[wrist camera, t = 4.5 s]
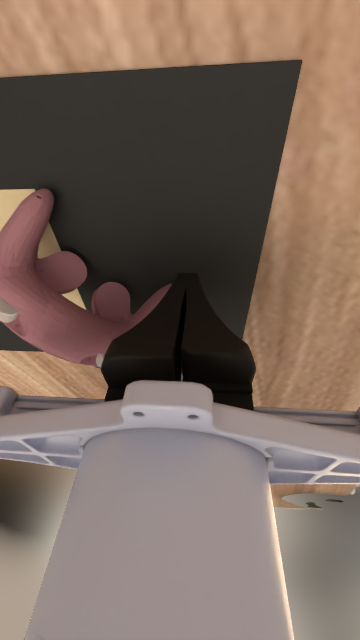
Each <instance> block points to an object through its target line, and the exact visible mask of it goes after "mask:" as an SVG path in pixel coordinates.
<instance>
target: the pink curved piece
mask: <svg viewBox="0 0 360 640" xmlns="http://www.w3.org/2000/svg"><path fill="white" fill-rule="evenodd" d="M53 205H54V196H53V194H52V192H51V191H50V190H48V189H43V188H42V189H40V190H37V191H35V192H33V193H31V194H30V195H29V196H28V197H26V198H25V199H24V200H23V201H22V202H21V203H20V204H19V206H18V207H17V209H16V210H15V211H14V213H13V214H12V216H11V217H10V218H9V220H8V221H7V223H6V224H5V225H4V227H3V228H2V230H1V231H0V321H2V322H3V323H4V324H5V325H6V326H7V327H8V328H9V329H10V330H12V331H13V332H14V333H15V334H17V335H18V336H19V337H21V338H22V339H23V340H25V341H27V342H28V343H30V344H32V345H33V346H35V347H37V348H39V349H41V350H42V351H44V352H46V353H48V354H51V355H54V356H56V357H59V358H61V359H64V360H68V361H71V362H74V363H79V364H84V365H90V366H95V367H97V368H101V365H102V362H103V359H104V356H105V353H106V351H107V349H108V347H109V345H110V343H111V341H112V340H113V339H115V338H117V337H119V336H120V335H122V334H124V333H125V332H127V331H128V330H130V329H131V328H133V327H134V326H135V325H137V324H138V323H139V322H140V321H142V320H143V319H144V318H145V317H146V316H147V315H148V314H149V313H150V312H151V311H152V310H153V309H154V308H155V307H156V306H157V304H158V303H159V302H160V301H161V299H162V298H163V297H164V295H165V294H166V292H167V291H168V289H169V288H170V286H171V285H172V284H168V285H167V286H164V287H162V288H161V289H160V290H158V291H157V292H156V293H154V294H153V295H152V296H151V297H150V298H149V299H148V300H147V301H146V302H145V303H144V304H143V305H142V306H141V307H140V309H139V310H138V311H137V312H136V313H135V314H133V315H132V314H131V313H130V295H129V292H128V291H127V289H126V288H125V287H124V286H122V285H121V284H119V283H116V282H107V283H104V284H103V285H101V286H100V287H99V288H97V289H96V290H95V292H94V293H93V295H92V301H91V306H92V311H93V313H91V312H89V311H88V310H86V309H84V308H82V307H80V306H78V305H76V304H75V303H73V302H72V301H70V300H68V299H67V298H65V297H64V296H62V294H66V293H69V292H72V291H74V290H75V289H76V288H78V287H79V286H80V285H81V284H82V283H83V282H84V281H85V279H86V277H87V268H86V266H85V264H84V262H83V261H82V260H81V259H80V258H79V257H78V256H77V255H75V254H74V253H72V252H68V251H60V252H57V253H54V254H52V255H50V256H47V257H44V258H41V259H40V258H38V248H39V243H40V240H41V238H42V236H43V233H44V231H45V229H46V227H47V224H48V222H49V219H50V216H51V212H52V210H53Z"/></svg>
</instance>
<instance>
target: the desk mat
mask: <svg viewBox="0 0 360 640" xmlns="http://www.w3.org/2000/svg"><path fill="white" fill-rule="evenodd" d="M301 64H302V60H290V61H273V62H257V63H240V64H223V65H206V66H190V67H173V68H156V69H140V70H123V71H106V72H89V73H73V74H56V75H39V76H23V77H6V78H0V231H1V230H2V228H3V227H4V225H5V224H6V223H7V221H8V220H9V218H10V217H11V216H12V214H13V213H14V211H15V210H16V209H17V207H18V206H19V204H20V203H21V202H22V201H23V200H24V199H25V198H26V197H28V196H29V195H30V194H31V193H33V192H35V191H37V190H40V189H42V188H43V189H48V190H50V191H51V192H52V194H53V196H54V205H53V210H52V212H51V216H50V219H49V222H48V224H47V227H46V229H45V231H44V233H43V236H42V238H41V240H40V243H39V248H38V258H40V259H41V258H44V257H47V256H50V255H52V254H54V253H57V252H60V251H68V252H72V253H74V254H75V255H77V256H78V257H79V258H80V259H81V260H82V261H83V262H84V264H85V266H86V268H87V277H86V279H85V281H84V282H83V283H82V284H81V285H80V286H79V287H78V288H76V289H75V290H74V291H72V292H69V293H66V294H62V296H64V297H65V298H67V299H68V300H70V301H72V302H73V303H75V304H76V305H78V306H80V307H82V308H84V309H86V310H88V311H89V312H91V313H93V311H92V306H91V301H92V295H93V293H94V292H95V290H96V289H97V288H99V287H100V286H101V285H103V284H104V283H107V282H116V283H119V284H121V285H122V286H124V287H125V288H126V289H127V291H128V292H129V295H130V313H131V314H132V315H133V314H135V313H136V312H137V311H138V310H139V309H140V307H141V306H142V305H143V304H144V303H145V302H146V301H147V300H148V299H149V298H150V297H151V296H152V295H153V294H154V293H156V292H157V291H158V290H160V289H161V288H162V287H164V286H167V285H168V284H172V283H173V281H174V279H175V277H176V275H177V274H178V273H198V274H199V279H200V283H201V286H202V288H203V291H204V293H205V295H206V297H207V299H208V301H209V303H210V304H211V306H212V308H213V309H214V311H215V312H216V313H217V315H218V316H219V317H220V319H221V320H222V321H223V322H224V323H225V325H226V326H227V327H228V328H229V329H230V330H231V331H232V332H233V333H234V334H235V335H236V336H237V337H239V338H240V339H241V340H242V338H243V333H244V328H245V324H246V319H247V315H248V310H249V305H250V301H251V296H252V291H253V287H254V282H255V278H256V273H257V268H258V264H259V259H260V254H261V250H262V245H263V240H264V236H265V231H266V227H267V222H268V217H269V213H270V208H271V203H272V199H273V194H274V189H275V185H276V180H277V176H278V171H279V166H280V162H281V157H282V152H283V148H284V143H285V138H286V134H287V129H288V125H289V120H290V115H291V111H292V106H293V101H294V97H295V92H296V87H297V83H298V78H299V74H300V69H301ZM0 350H10V351H41V352H44V351H42V350H41V349H39V348H37V347H35V346H33V345H32V344H30V343H28V342H27V341H25V340H23V339H22V338H21V337H19V336H18V335H17V334H15V333H14V332H13V331H12V330H10V329H9V328H8V327H7V326H6V325H5V324H4V323H3V322H2V321H0Z"/></svg>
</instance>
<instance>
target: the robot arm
mask: <svg viewBox="0 0 360 640" xmlns="http://www.w3.org/2000/svg"><path fill="white" fill-rule="evenodd" d="M255 370H256V366H255V362H254V359H253V356H252V353H251V351H250V349H249V346H248V345H247V344H246V343H245V342H244V341H243V340H241V339H240V338H239V337H237V336H236V335H235V334H234V333H233V332H232V331H231V330H230V329H229V328H228V327H227V326H226V325H225V323H224V322H223V321H222V320H221V319H220V317H219V316H218V315H217V313H216V312H215V311H214V309H213V308H212V306H211V304H210V303H209V301H208V299H207V297H206V295H205V293H204V291H203V288H202V286H201V283H200V279H199V274H198V273H178V274H177V275H176V277H175V279H174V281H173V283H172V285H171V286H170V288H169V289H168V291H167V292H166V294H165V295H164V297H163V298H162V299H161V301H160V302H159V303H158V304H157V306H156V307H155V308H154V309H153V310H152V311H151V312H150V313H149V314H148V315H147V316H146V317H145V318H144V319H143V320H142V321H140V322H139V323H138V324H137V325H135V326H134V327H133V328H131V329H130V330H128V331H127V332H125V333H124V334H122V335H120V336H119V337H117V338H115V339H113V340H112V341H111V343H110V345H109V347H108V349H107V351H106V353H105V356H104V359H103V362H102V365H101V371H102V374H103V376H104V378H105V380H106V382H107V384H108V386H109V387H108V390H107V394H106V397H105V399H84V398H64V397H43V396H23V395H17V393H16V392H15V391H14V390H13V389H11V388H9V387H5V386H0V459H8V460H17V461H24V462H32V463H38V464H46V465H51V466H58V467H64V468H71V469H77V474H76V477H75V480H74V483H73V486H72V489H71V493H70V496H69V499H68V502H67V505H66V508H65V511H64V515H63V518H62V521H61V524H60V528H59V530H58V534H57V537H56V540H55V543H54V546H53V550H52V553H51V556H50V559H49V562H48V565H47V568H46V571H45V575H44V578H43V581H42V584H41V587H40V591H39V594H38V597H37V600H36V603H35V606H34V609H33V613H32V616H31V619H30V622H29V625H28V628H27V631H26V635H25V638H24V640H294V635H293V629H292V622H291V617H290V610H289V603H288V597H287V591H286V585H285V579H284V572H283V566H282V559H281V553H280V546H279V540H278V534H277V528H276V522H275V515H274V508H273V502H272V496H271V489H270V484H360V408H359V409H358V410H357V411H356V412H351V411H331V410H310V409H289V408H269V407H253V400H252V392H253V390H252V381H253V378H254V375H255Z"/></svg>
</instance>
